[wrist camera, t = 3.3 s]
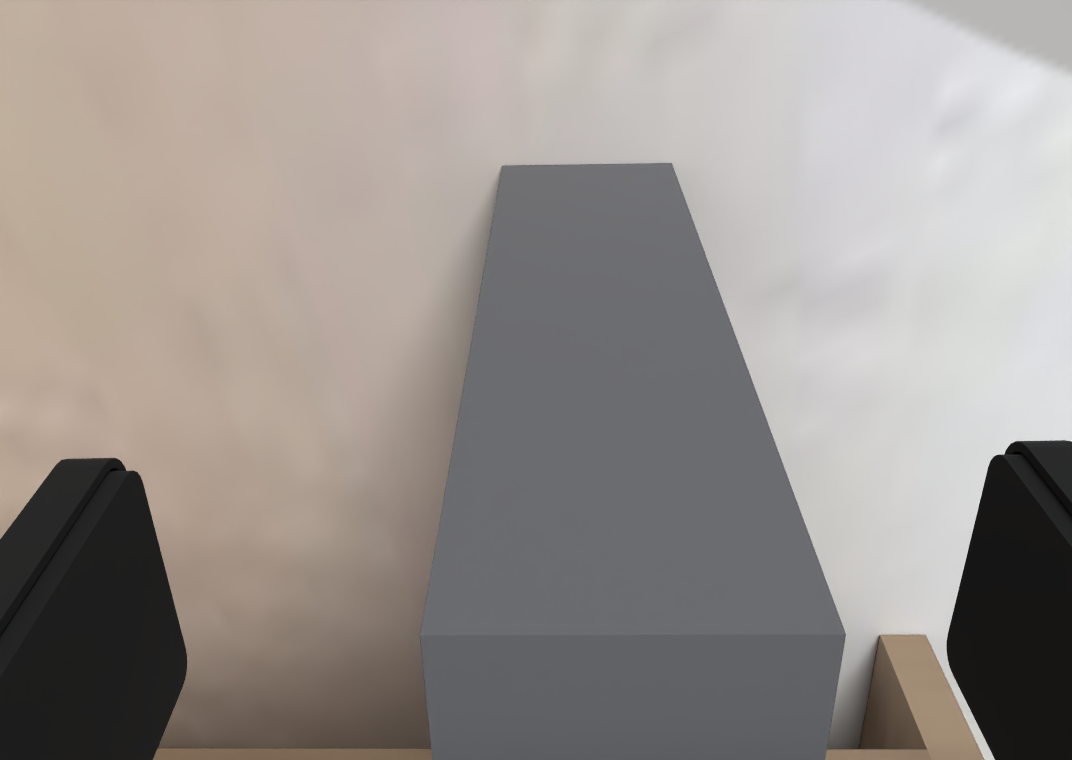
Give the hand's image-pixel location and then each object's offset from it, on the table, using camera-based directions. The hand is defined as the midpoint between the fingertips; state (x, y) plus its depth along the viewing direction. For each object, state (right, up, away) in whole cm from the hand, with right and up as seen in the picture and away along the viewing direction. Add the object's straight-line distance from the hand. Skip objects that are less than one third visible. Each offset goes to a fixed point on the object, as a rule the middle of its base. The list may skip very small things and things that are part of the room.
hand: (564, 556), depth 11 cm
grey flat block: (+1, +1, +12) cm, 12 cm away
